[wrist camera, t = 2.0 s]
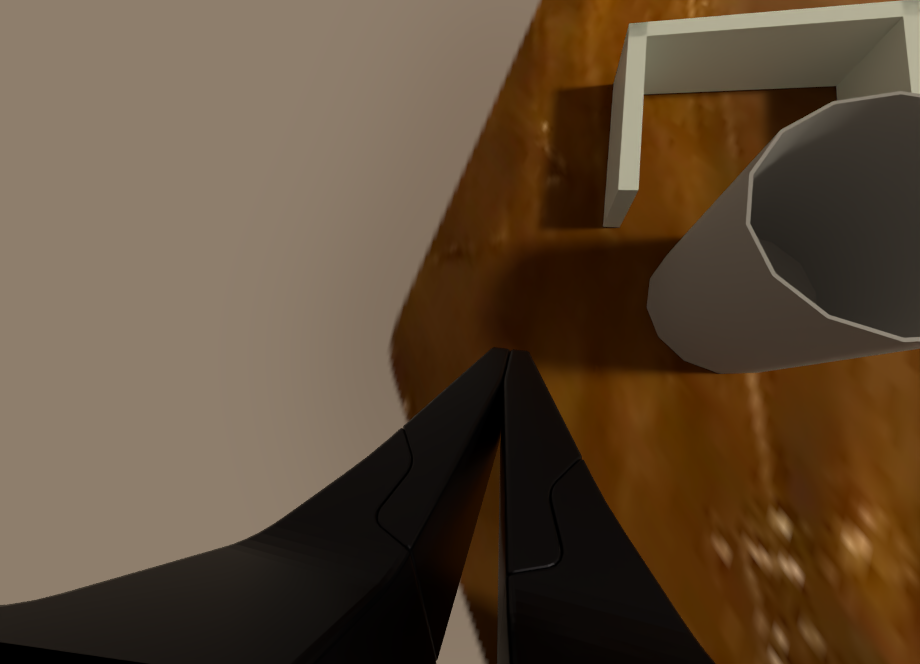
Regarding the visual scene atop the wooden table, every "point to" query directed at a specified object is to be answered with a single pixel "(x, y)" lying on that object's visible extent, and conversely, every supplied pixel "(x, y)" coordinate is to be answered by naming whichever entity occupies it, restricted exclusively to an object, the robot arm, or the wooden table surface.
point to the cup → (805, 248)
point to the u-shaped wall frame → (756, 66)
